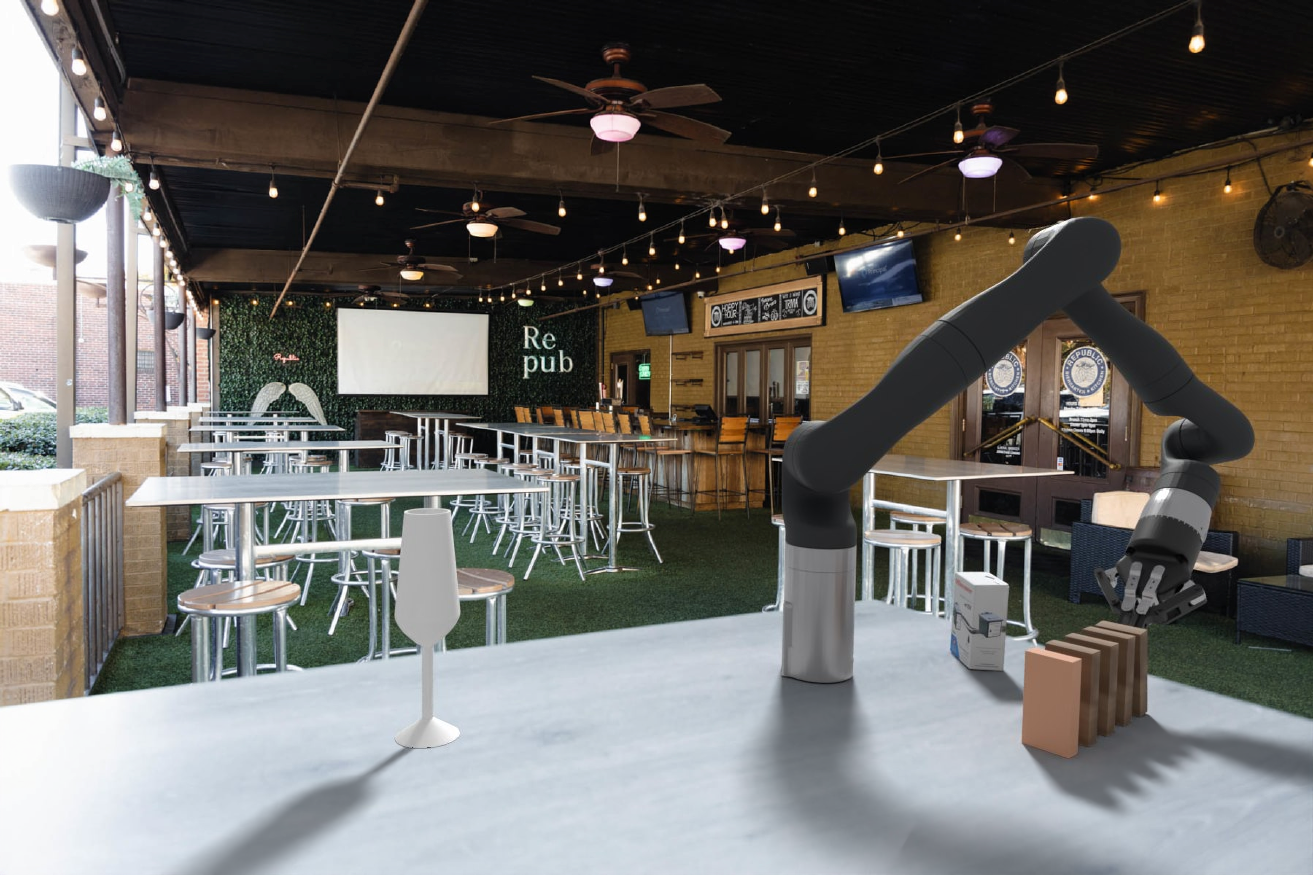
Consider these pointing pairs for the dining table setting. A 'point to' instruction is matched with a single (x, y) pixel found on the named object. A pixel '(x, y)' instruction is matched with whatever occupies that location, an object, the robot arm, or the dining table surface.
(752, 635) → the dining table surface
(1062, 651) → the tile
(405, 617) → the champagne flute
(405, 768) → the dining table surface
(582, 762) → the dining table surface
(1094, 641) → the tile
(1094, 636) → the tile
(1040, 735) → the tile
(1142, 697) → the tile
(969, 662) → the ink box
